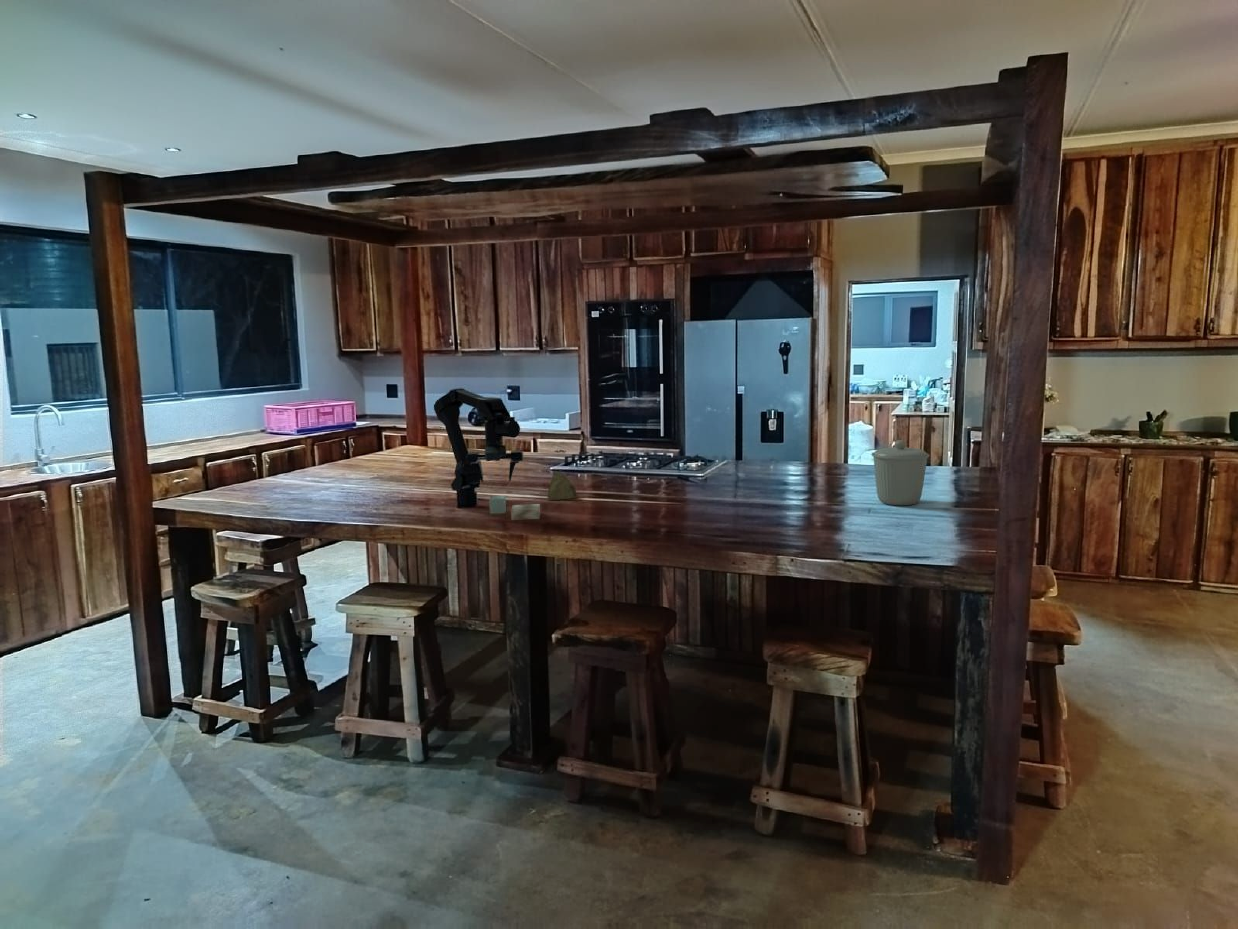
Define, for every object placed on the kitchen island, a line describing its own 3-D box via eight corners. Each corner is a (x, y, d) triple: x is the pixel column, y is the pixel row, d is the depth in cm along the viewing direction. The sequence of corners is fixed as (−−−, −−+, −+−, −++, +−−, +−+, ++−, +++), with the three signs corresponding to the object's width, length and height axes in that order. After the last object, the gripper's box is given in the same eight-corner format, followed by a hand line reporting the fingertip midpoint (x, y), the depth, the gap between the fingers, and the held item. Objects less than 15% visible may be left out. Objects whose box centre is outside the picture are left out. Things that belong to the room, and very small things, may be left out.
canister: (932, 509, 259) (934, 443, 256) (873, 508, 263) (874, 443, 259) (923, 497, 276) (924, 436, 273) (867, 497, 280) (869, 436, 277)
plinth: (511, 520, 262) (511, 510, 261) (513, 514, 271) (513, 505, 270) (539, 518, 262) (539, 509, 262) (540, 512, 271) (540, 504, 271)
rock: (583, 489, 297) (559, 484, 301) (579, 474, 291) (554, 469, 295) (571, 511, 291) (547, 506, 295) (566, 496, 285) (541, 491, 289)
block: (490, 514, 272) (489, 499, 271) (491, 510, 277) (490, 496, 276) (504, 513, 273) (504, 498, 272) (506, 510, 277) (505, 496, 277)
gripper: (462, 440, 262) (465, 487, 265) (520, 438, 263) (522, 485, 266) (466, 435, 273) (469, 481, 276) (522, 433, 274) (524, 479, 277)
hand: (496, 481), depth 273 cm, fingers open, 9 cm apart
